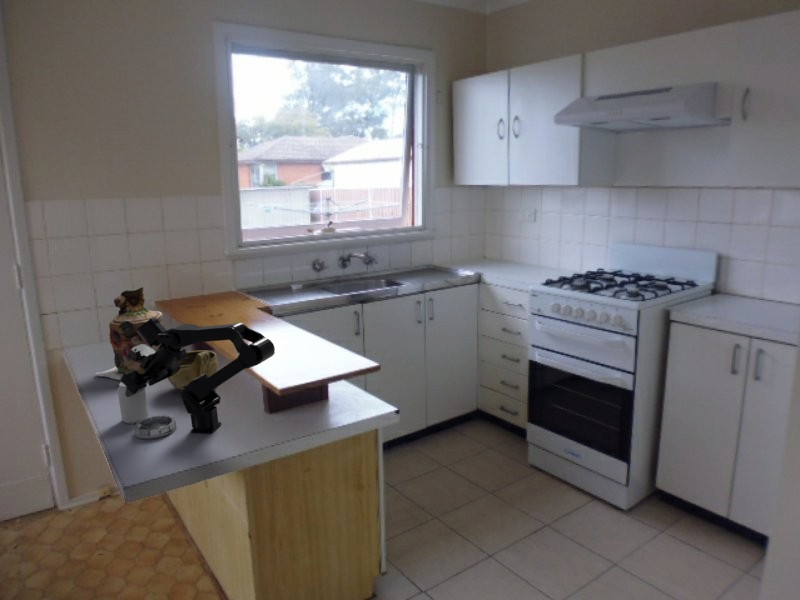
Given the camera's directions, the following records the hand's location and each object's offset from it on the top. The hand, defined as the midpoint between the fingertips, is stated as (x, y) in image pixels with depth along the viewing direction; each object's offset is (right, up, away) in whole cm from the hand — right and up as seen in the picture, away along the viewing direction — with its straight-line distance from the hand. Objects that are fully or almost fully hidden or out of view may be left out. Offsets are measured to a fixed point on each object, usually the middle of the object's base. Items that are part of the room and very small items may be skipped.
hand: (138, 390), depth 178 cm
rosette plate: (+8, -11, -6) cm, 14 cm away
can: (-2, -9, +3) cm, 10 cm away
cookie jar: (-19, 0, +48) cm, 51 cm away
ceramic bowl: (+7, -3, +27) cm, 28 cm away
